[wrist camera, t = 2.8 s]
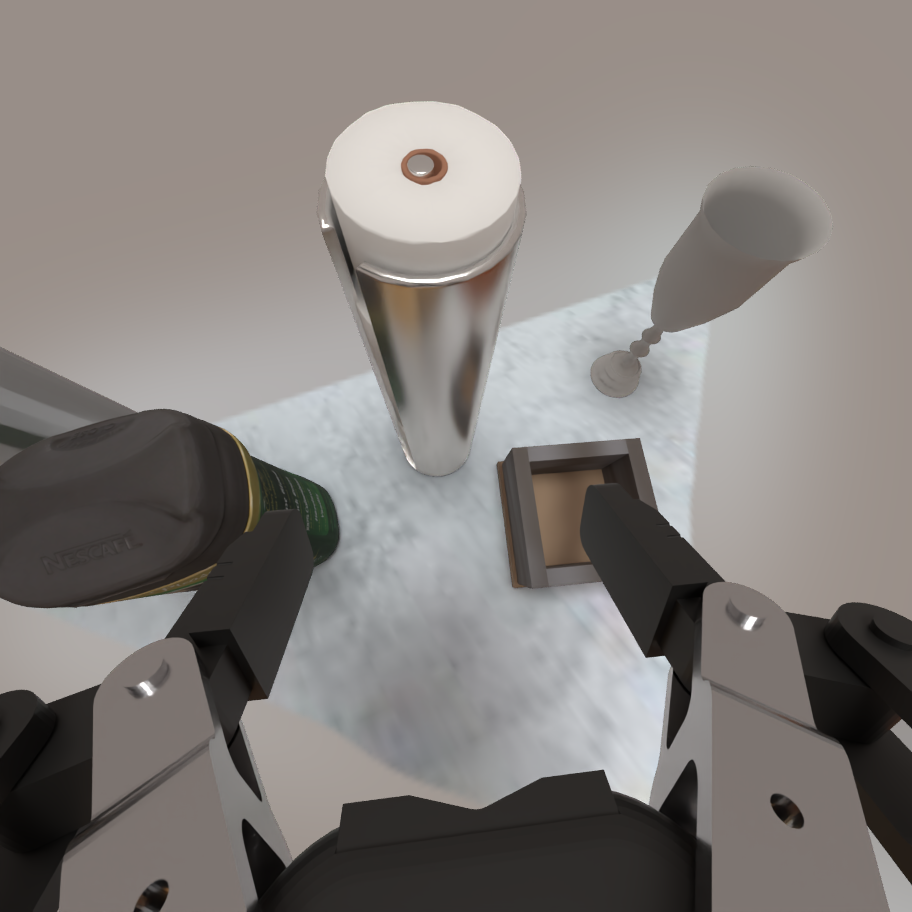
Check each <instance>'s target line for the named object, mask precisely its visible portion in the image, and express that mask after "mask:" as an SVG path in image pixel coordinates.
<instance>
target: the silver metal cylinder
mask: <svg viewBox="0 0 912 912" xmlns="http://www.w3.org/2000/svg"><path fill="white" fill-rule="evenodd" d="M521 178H522V175H521V168H520V161H519V157H518V155H517V153H516V151H515V149H514V147H513V145H512V143H511V141H510V140H509V139H508V138H507V137H506V136H505V135H504V134H503V133H502V131H501V130H500V129H499V128H498V127H497V126H496V125H494V124H492V123H491V122H489V121H488V120H486V119H484V118H483V117H481V116H480V115H478V114H476V113H473V112H471V111H469V110H467V109H465V108H463V107H461V106H458V105H454V104H447V103H441V102H435V101H433V102H432V101H429V102H406V103H398V104H390V105H386V106H383V107H380V108H378V109H375V110H373V111H370V112H367V113H366V114H364V115H363V116H362V117H360V118H359V119H358V120H356V121H355V122H354V123H352V124H351V125H350V126H349V127H348V128H347V129H346V130H345V131H344V132H343V133H342V134H341V135H340V136H339V137H338V138H337V139H336V140H335V141H334V144H333V146H332V148H331V150H330V153H329V155H328V157H327V164H326V173H325V179H324V181H323V183H322V185H321V187H320V189H319V195H318V206H317V215H318V219H319V223H320V227H321V231H322V235H323V237H324V240H325V243H326V245H327V248H328V251H329V253H330V256H331V259H332V262H333V264H334V267H335V269H336V272H337V274H338V278H339V280H340V283H341V286H342V287H343V291H344V294H345V296H346V299H347V302H348V304H349V307H350V309H351V312H352V315H353V318H354V320H355V323H356V325H357V328H358V331H359V333H360V336H361V339H362V341H363V344H364V347H365V350H366V352H367V355H368V358H369V361H370V363H371V366H372V369H373V371H374V374H375V377H376V379H377V382H378V385H379V387H380V390H381V393H382V395H383V398H384V401H385V403H386V406H387V409H388V411H389V414H390V417H391V419H392V422H393V425H394V427H395V430H396V433H397V435H398V438H399V441H400V443H401V446H402V449H403V451H404V454H405V457H406V459H407V460H408V462H409V463H410V465H411V466H412V467H413V468H415V469H416V470H417V471H419V472H421V473H423V474H424V475H429V476H433V477H434V476H445V475H448V474H451V473H453V472H455V471H456V470H458V469H459V468H460V467H461V466H462V465H463V464H464V463H465V461H466V460H467V458H468V456H469V453H470V448H471V444H472V440H473V436H474V432H475V428H476V424H477V419H478V415H479V411H480V407H481V403H482V399H483V394H484V390H485V386H486V382H487V378H488V374H489V369H490V365H491V361H492V357H493V353H494V349H495V345H496V340H497V336H498V332H499V328H500V324H501V319H502V315H503V311H504V307H505V303H506V299H507V294H508V290H509V286H510V282H511V278H512V274H513V270H514V266H515V261H516V257H517V253H518V249H519V245H520V241H521V236H522V232H523V227H524V223H525V218H526V205H525V197H524V191H523V189H522V187H521V184H520V182H521Z"/></svg>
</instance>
